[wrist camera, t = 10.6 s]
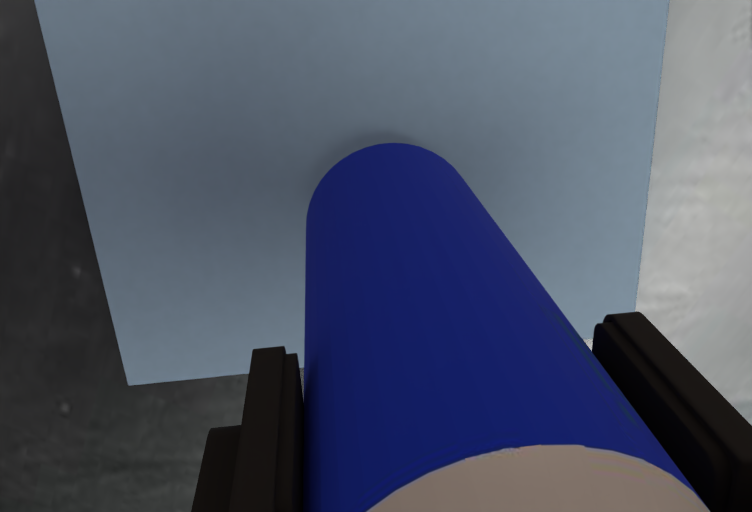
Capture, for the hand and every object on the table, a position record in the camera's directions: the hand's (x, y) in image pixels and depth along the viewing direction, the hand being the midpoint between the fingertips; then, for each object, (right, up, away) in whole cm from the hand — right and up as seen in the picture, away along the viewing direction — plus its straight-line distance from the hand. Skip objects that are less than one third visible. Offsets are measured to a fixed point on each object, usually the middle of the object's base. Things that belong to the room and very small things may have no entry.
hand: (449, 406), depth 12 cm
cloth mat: (-1, +5, +12) cm, 13 cm away
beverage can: (-1, +4, +9) cm, 10 cm away
